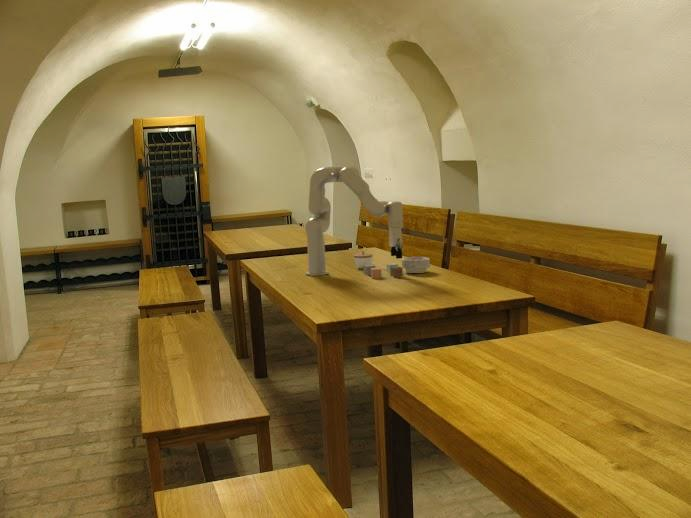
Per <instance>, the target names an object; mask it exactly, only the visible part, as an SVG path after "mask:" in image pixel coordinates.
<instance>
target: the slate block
mask: <svg viewBox="0 0 691 518" xmlns="http://www.w3.org/2000/svg"><path fill="white" fill-rule="evenodd" d="M371 268H376V265H375V264H371V265H363V269H362V270H363V275H364V274H366V275H365V276H367V275H368V276H371Z"/></svg>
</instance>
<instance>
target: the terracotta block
mask: <svg viewBox="0 0 691 518" xmlns="http://www.w3.org/2000/svg"><path fill="white" fill-rule="evenodd" d="M382 275H383V274H382V268H381V267H375V268H371V275H370V277H371V279H372V278H377V279H383V278H382V277H383V276H382Z"/></svg>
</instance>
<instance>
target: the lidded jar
mask: <svg viewBox="0 0 691 518" xmlns="http://www.w3.org/2000/svg"><path fill="white" fill-rule="evenodd" d="M353 257H354V258H353V259H354V264H355V266H356V267H357V268H358V269H359V268H361V269H362V268H363V265H373V264H372V263H373V254H372V253H370V252H369V253H365V251H362V252H361V253H356V254H354V255H353ZM361 269H360V270H361ZM362 270H363V269H362Z"/></svg>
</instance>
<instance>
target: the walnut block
mask: <svg viewBox="0 0 691 518" xmlns="http://www.w3.org/2000/svg"><path fill="white" fill-rule="evenodd" d="M403 271H404V270H403V268H402V266H399V265H398V267H391V274H390V276H391V277H392V276H393V277H396V278H403V277H402V276H403ZM393 277H392V278H393Z"/></svg>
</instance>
